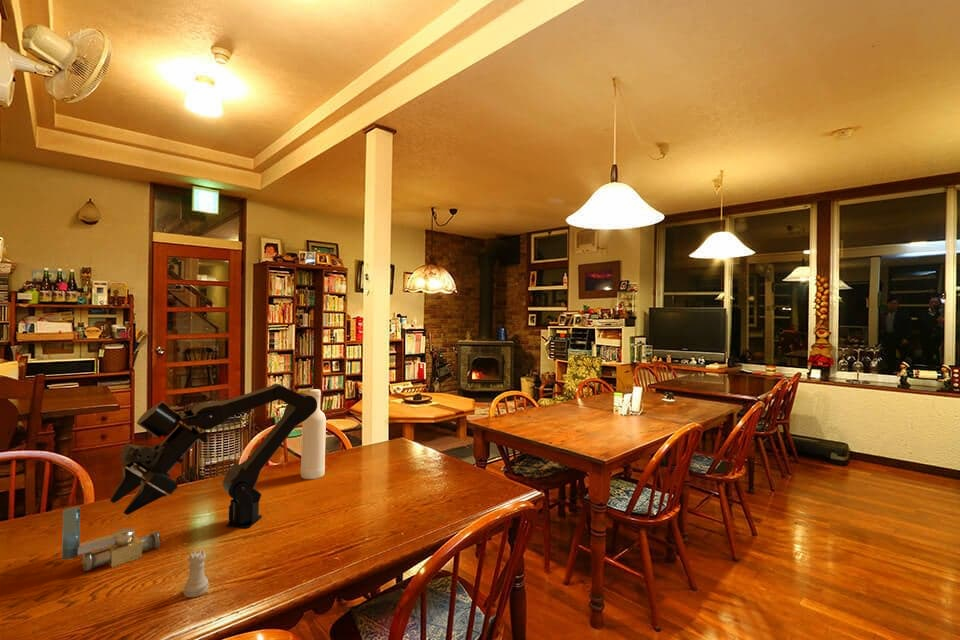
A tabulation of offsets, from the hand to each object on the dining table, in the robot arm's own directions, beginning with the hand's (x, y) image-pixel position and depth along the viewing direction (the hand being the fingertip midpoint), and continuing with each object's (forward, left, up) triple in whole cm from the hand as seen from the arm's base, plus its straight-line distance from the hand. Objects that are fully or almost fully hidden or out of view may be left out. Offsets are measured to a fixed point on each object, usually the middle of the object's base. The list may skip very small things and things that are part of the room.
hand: (118, 507), depth 103 cm
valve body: (-1, -1, -12) cm, 12 cm away
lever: (+2, +2, -8) cm, 9 cm away
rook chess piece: (-25, +9, -12) cm, 29 cm away
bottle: (-20, -57, -12) cm, 62 cm away
